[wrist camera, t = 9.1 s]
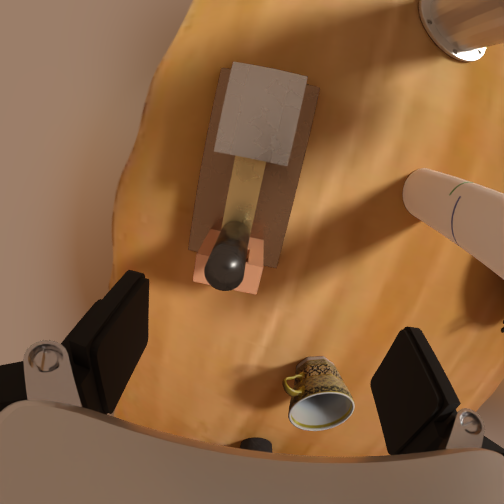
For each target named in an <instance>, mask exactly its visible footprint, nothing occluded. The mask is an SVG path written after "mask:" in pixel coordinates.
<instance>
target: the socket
mask: <svg viewBox="0 0 504 504" xmlns="http://www.w3.org/2000/svg"><path fill="white" fill-rule="evenodd" d="M220 232H221V231H218V230H213V229H210V231H209V232H208V234H207V236H206V238H205V239H204V241H203V243H202V245H201V247H200V248H199V250H198V252H197V254H196V261H195V269H194V276H193V281H194V282H198V283H203V284H208V285H210V284H209V283H208V282H207V280H206V278H205V275H204V269H205V265H206V263H207V261H208V258H209V256H210V254H211V252H212V249H213V247H214V245H215V243H216V240H217V238H218V236H219V234H220ZM263 254H264V240H261V239H256V238H251V237H250V238H249V245H248V252H247V258H246V265H245V272H244V278H243V281H242V282H241V284H240V285H239V286H238V287H237V288H235V289H233V290H236V291H241V292H246V293H251V294H256V295H257V291H258V287H259V283H260V279H261V275H262V271H263Z"/></svg>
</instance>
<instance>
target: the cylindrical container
mask: <svg viewBox="0 0 504 504" xmlns="http://www.w3.org/2000/svg"><path fill="white" fill-rule="evenodd" d="M403 202H404V205H405V207H406V209H407V210H408V211H409V213H410V214H412V215H413V216H415V217H416V218H418V219H419V220H421V221H423V222H424V223H426V224H427V225H429V226H430V227H432V228H433V229H435V230H436V231H438V232H439V233H441V234H442V235H444V236H445V237H447V238H448V239H450V240H451V241H453V242H454V243H455V244H457V245H458V246H460V247H461V248H463V249H464V250H465V251H467V252H468V253H469V254H471V255H472V256H474V257H475V258H476V259H478V260H479V261H480V262H482V263H483V264H484V265H486V266H487V267H488V268H489V269H491V270H492V271H493V272H495V273H496V274H497V275H498V276H500V277H501V278H502V279H503V280H504V194H503V193H501V192H498V191H495V190H493V189H490V188H487V187H484V186H481V185H479V184H476V183H473V182H470V181H467V180H464V179H460V178H457V177H454V176H451V175H448V174H444V173H441V172H437V171H434V170H430V169H427V168H422V169H418V170H416V171H414V172H413V173H411V174H410V175H409V177H408V178H407V180H406V181H405V184H404V187H403Z"/></svg>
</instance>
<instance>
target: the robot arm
mask: <svg viewBox="0 0 504 504" xmlns="http://www.w3.org/2000/svg"><path fill="white" fill-rule="evenodd" d="M419 14H420V18H421V21H422V23H423V25H424V27H425V29H426V31H427V33H428V34H429V36H430V37H431V38H432V40H433V41H434V42H435V43H436V44H437V45H438V46H439V48H440V49H442V50H443V51H444V52H445V53H446V54H448V55H450V56H451V57H453V58H455V59H457V60H459V61H464V62H471V61H476V60H478V59H480V58H481V57H482V56H483V54H484V52H485V49H486V47H488V46H492V45H496V44H500V43H504V0H420V1H419ZM148 308H149V279H146V278H145V275H144V274H143V273H139V272H136V271H132V270H128V271H127V272H126V273H125V274H124V275H123V276H122V277H121V279H120V280H119V281H118V282H117V283H116V284H115V285H114V286H113V288H112V289H111V290H110V291H109V292H108V293H107V294H106V296H105V297H104V298H103V299H102V300H101V299H100V300H98V301H97V302H95V304H94V305H93V306H92V307H91V308H90V310H89V311H88V312H87V313H86V314H85V315H84V317H83V318H82V319H81V320H80V321H79V322H78V324H77V325H76V326H75V327H74V329H73V330H72V331H71V332H70V333H69V335H68V336H67V337H66V338H65V340H64V341H63V342H62V343H61V344H59V343H58V342H55V341H50V340H49V341H48V340H45V341H40V342H36V343H34V344H33V345H31V346H30V347H29V348H28V349H27V350H26V352H25V354H24V359H23V361H21V362H17V363H11V364H6V365H1V366H0V504H504V449H503V448H502V447H500V446H499V445H497V444H496V443H494V442H493V441H491V440H489V439H488V438H486V437H485V436H484V432H485V431H484V430H485V426H484V422H483V420H482V418H481V417H480V416H479V415H478V414H477V413H476V412H475V411H473V410H471V409H466V408H464V409H461V410H460V411H458V412H457V411H456V408H457V407H458V406H459V405H460V404H461V403H460V401H459V399H458V397H457V395H456V393H455V391H454V389H453V387H452V385H451V383H450V381H449V380H448V378H447V376H446V374H445V372H444V370H443V368H442V366H441V364H440V363H439V361H438V359H437V357H436V355H435V354H434V352H433V350H432V348H431V346H430V345H429V343H428V341H427V339H426V338H425V336H424V334H423V333H422V331H421V330H420V329H419V328H414V327H405V328H404V329H403V330H401V331H400V332H399V333H398V335H397V337H396V339H395V340H394V342H393V344H392V346H391V347H390V349H389V351H388V353H387V354H386V356H385V358H384V359H383V361H382V363H381V364H380V366H379V368H378V369H377V371H376V372H375V374H374V376H373V377H372V379H371V390H372V393H373V397H374V400H375V404H376V408H377V411H378V415H379V419H380V423H381V426H382V430H383V434H384V438H385V442H386V446H387V451H388V453H389V454H390V455H387V456H367V457H324V456H303V455H289V454H279V453H269V452H261V451H253V450H246V449H240V448H234V447H228V446H222V445H217V444H212V443H207V442H202V441H198V440H193V439H189V438H185V437H181V436H177V435H173V434H169V433H165V432H161V431H158V430H154V429H150V428H147V427H144V426H140V425H137V424H134V423H131V422H128V421H124V420H121V419H119V418H115V417H112V416H109V415H107V413H110V414H111V413H113V411H114V409H115V407H116V405H117V403H118V401H119V399H120V397H121V395H122V393H123V391H124V389H125V387H126V385H127V383H128V381H129V379H130V377H131V375H132V373H133V371H134V369H135V367H136V365H137V363H138V361H139V359H140V357H141V355H142V353H143V351H144V349H145V348H146V345H147V342H148Z"/></svg>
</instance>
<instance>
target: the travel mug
mask: <svg viewBox="0 0 504 504" xmlns="http://www.w3.org/2000/svg"><path fill="white" fill-rule="evenodd" d="M240 449H246V450H253V451H261V452H269V453H272V444H271V442H270V441H268V440H266V439H263V438H249V439H246V440H244V441H242V443H241V446H240Z"/></svg>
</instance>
